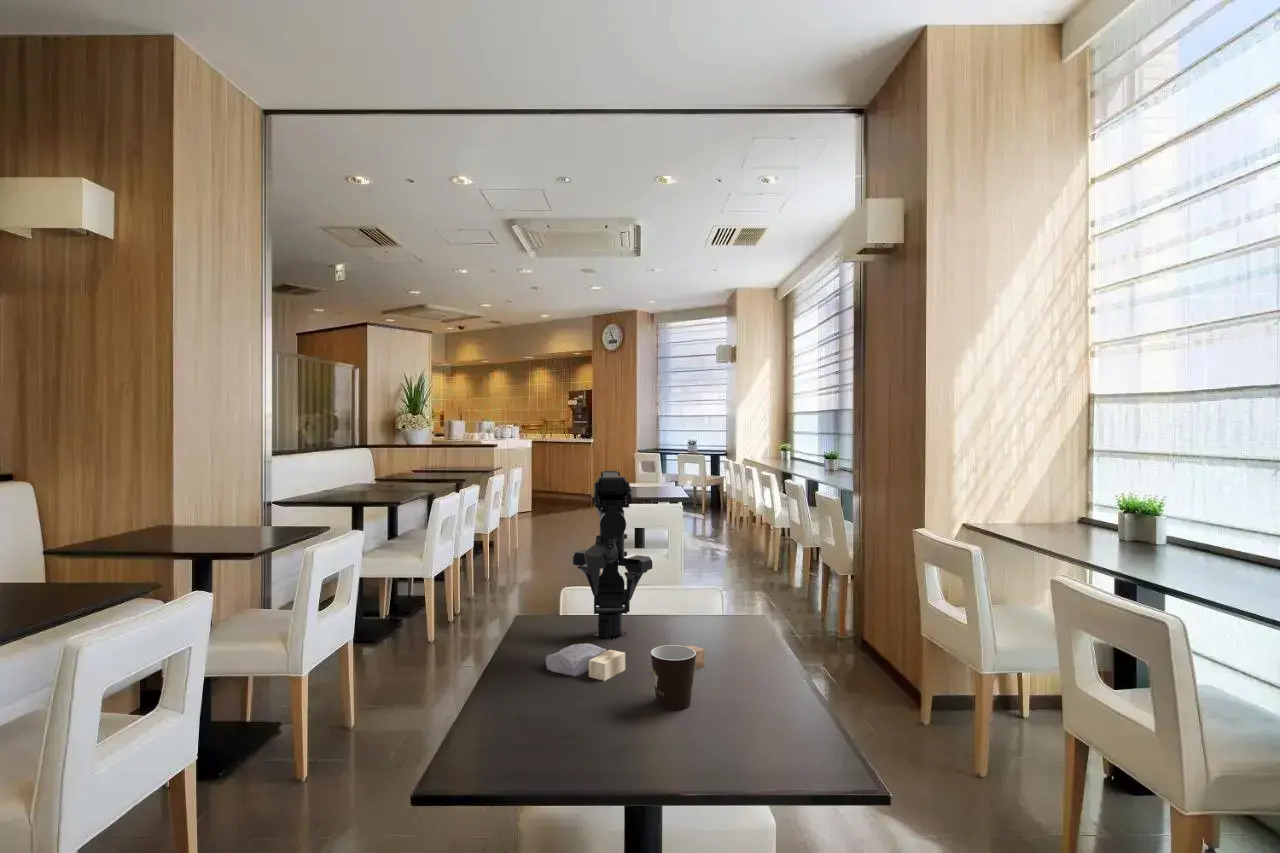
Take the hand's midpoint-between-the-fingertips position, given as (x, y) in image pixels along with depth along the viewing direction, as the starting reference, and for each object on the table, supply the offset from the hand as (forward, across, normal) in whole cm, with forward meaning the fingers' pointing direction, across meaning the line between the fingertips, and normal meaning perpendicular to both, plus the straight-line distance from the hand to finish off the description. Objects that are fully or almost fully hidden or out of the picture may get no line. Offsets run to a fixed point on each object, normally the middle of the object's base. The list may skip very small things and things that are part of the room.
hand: (611, 597), depth 160 cm
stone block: (+12, -8, -11) cm, 18 cm away
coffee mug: (+13, +25, -17) cm, 33 cm away
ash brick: (+11, +4, -11) cm, 16 cm away
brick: (+13, +19, 0) cm, 23 cm away
